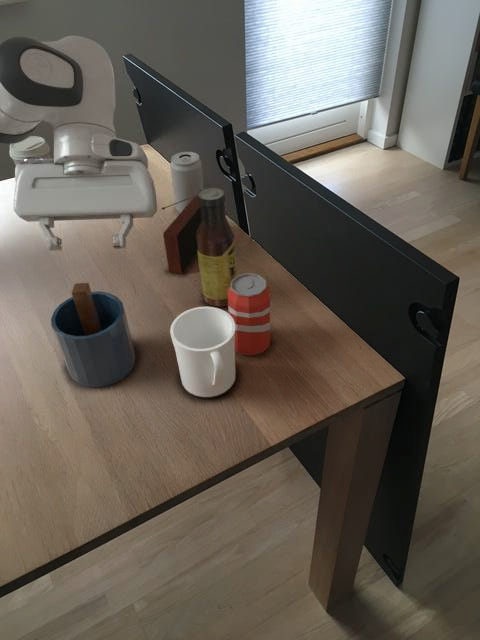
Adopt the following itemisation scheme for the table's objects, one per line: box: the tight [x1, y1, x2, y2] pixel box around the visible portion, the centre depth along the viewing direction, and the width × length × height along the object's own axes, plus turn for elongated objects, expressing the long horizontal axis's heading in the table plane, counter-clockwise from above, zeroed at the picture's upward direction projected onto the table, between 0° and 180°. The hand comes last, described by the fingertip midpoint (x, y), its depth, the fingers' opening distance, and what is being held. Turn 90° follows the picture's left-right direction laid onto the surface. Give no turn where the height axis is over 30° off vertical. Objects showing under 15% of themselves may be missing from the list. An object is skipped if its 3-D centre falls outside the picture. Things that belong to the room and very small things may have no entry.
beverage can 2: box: [227, 272, 271, 356], centre depth 81 cm, size 6×6×12 cm
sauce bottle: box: [196, 187, 238, 308], centre depth 87 cm, size 7×6×20 cm
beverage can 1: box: [169, 151, 205, 214], centre depth 112 cm, size 6×6×12 cm
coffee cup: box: [9, 135, 51, 166], centre depth 121 cm, size 8×8×12 cm
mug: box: [169, 306, 236, 400], centre depth 76 cm, size 11×9×10 cm
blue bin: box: [50, 291, 136, 388], centre depth 80 cm, size 10×10×10 cm
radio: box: [161, 190, 202, 275], centre depth 99 cm, size 19×3×15 cm, turn 159°
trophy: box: [71, 282, 102, 336], centre depth 78 cm, size 5×5×14 cm
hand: (87, 249), depth 78 cm, fingers open, 8 cm apart
